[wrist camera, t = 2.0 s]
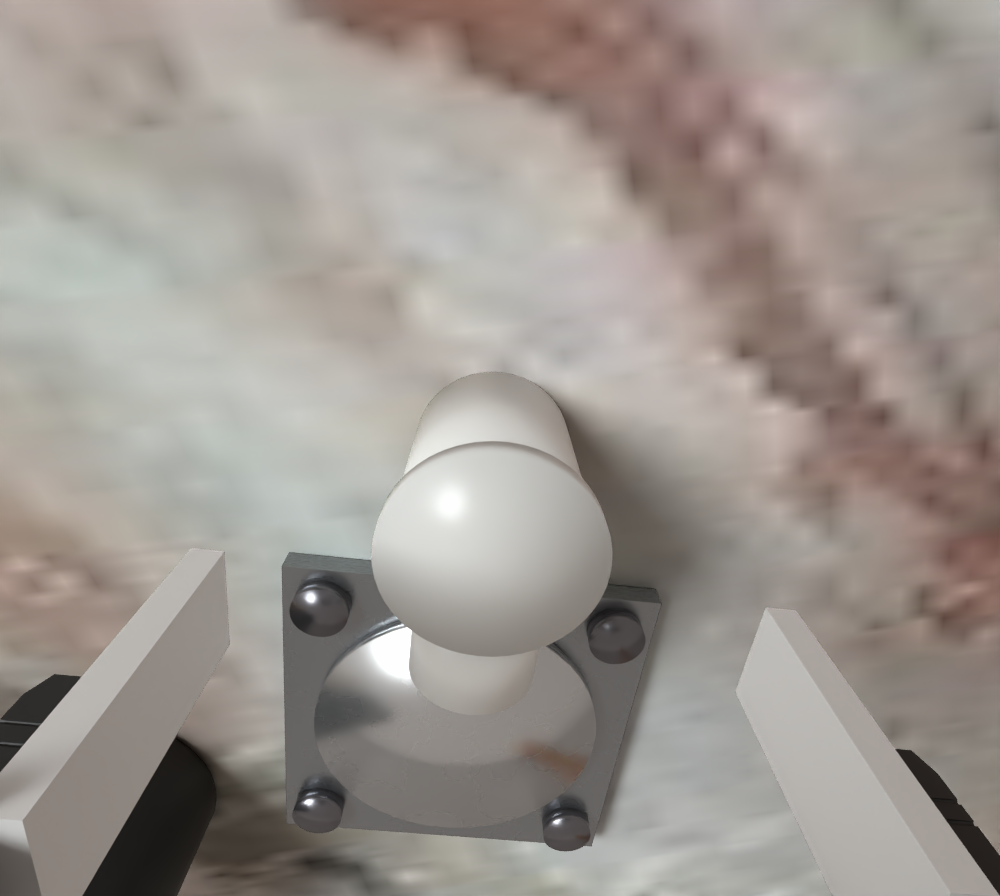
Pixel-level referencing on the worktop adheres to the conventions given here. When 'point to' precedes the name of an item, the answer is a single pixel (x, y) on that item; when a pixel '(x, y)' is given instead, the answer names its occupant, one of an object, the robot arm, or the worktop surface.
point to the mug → (160, 830)
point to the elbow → (489, 542)
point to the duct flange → (448, 719)
